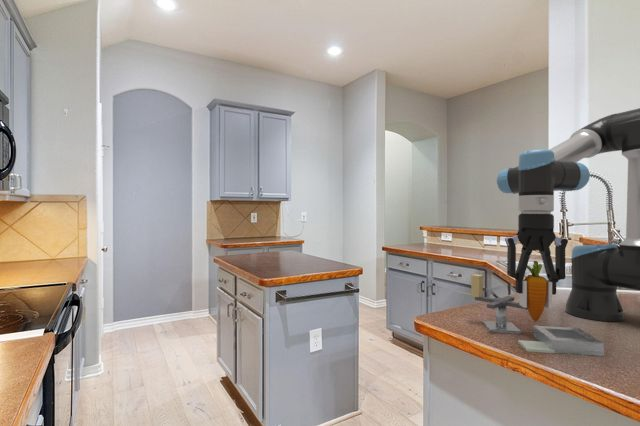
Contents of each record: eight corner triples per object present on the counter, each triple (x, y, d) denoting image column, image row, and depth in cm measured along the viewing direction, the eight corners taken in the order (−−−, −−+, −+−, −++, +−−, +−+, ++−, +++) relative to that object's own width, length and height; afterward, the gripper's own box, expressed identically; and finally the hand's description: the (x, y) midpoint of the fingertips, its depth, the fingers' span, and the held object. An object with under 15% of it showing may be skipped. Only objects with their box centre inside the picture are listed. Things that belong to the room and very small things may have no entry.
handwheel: (461, 303, 103) (461, 277, 103) (483, 295, 113) (483, 272, 113) (522, 315, 91) (522, 286, 91) (541, 305, 100) (541, 279, 100)
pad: (543, 344, 90) (543, 341, 90) (554, 353, 84) (554, 350, 84) (518, 342, 91) (518, 340, 91) (527, 351, 85) (527, 348, 85)
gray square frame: (579, 339, 93) (579, 328, 93) (603, 356, 82) (603, 343, 82) (533, 336, 95) (533, 325, 95) (551, 352, 84) (551, 339, 84)
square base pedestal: (511, 325, 105) (511, 301, 105) (521, 334, 97) (521, 308, 97) (482, 323, 107) (482, 300, 107) (489, 332, 99) (489, 307, 99)
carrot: (539, 326, 84) (539, 263, 84) (519, 320, 88) (519, 260, 88) (551, 323, 86) (551, 262, 86) (531, 317, 91) (531, 259, 91)
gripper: (501, 212, 85) (500, 308, 85) (584, 213, 82) (584, 313, 82) (492, 212, 93) (492, 301, 93) (568, 213, 89) (568, 305, 89)
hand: (535, 306), depth 87 cm, fingers closed on carrot, 5 cm apart
